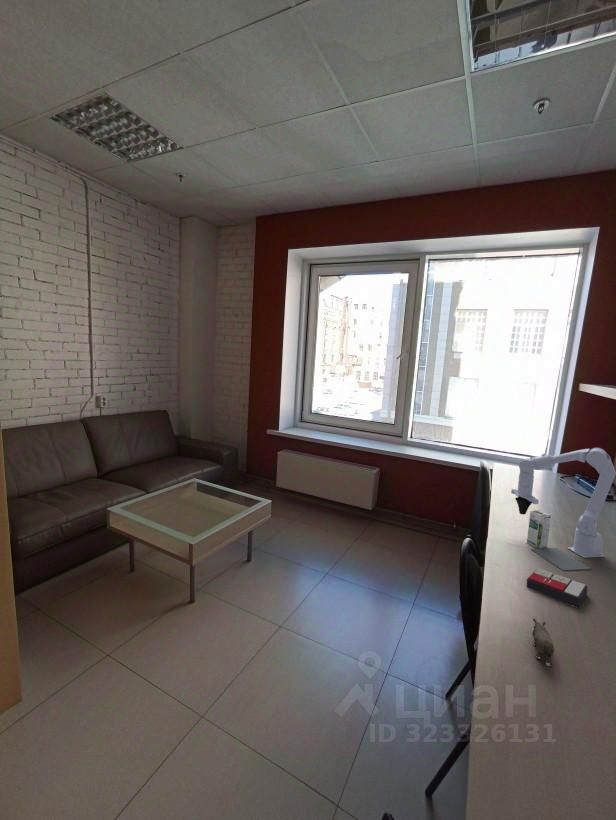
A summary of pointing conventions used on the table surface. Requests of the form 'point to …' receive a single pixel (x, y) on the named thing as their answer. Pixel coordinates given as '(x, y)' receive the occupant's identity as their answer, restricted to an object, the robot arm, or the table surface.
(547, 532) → the syrup box
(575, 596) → the red and white box
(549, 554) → the mat
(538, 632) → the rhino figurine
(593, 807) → the table surface
